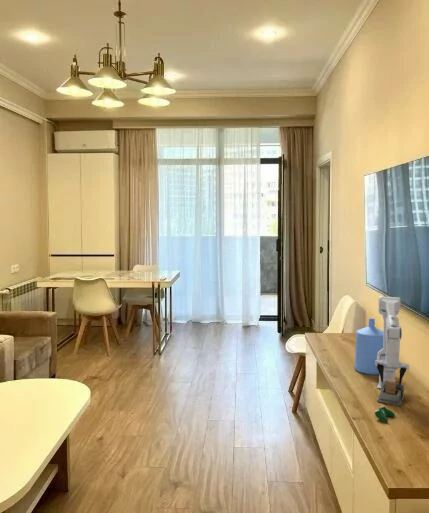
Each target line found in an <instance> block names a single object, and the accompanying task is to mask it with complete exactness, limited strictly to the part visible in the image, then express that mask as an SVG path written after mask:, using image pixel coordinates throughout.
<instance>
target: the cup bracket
mask: <svg viewBox="0 0 429 513" xmlns="http://www.w3.org/2000/svg"><path fill="white" fill-rule="evenodd" d="M385 389H386V381H383V382H381V389H380V391H379V395H378V396H377V399H376V402H377V403H381V402H382V404H387V405H393V406H398V407H400V406H402V403H403V401H404V398H405V384H403V383H401V385H399V382H398V383H397V382H396V395H395V394H389V393H385Z"/></svg>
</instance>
